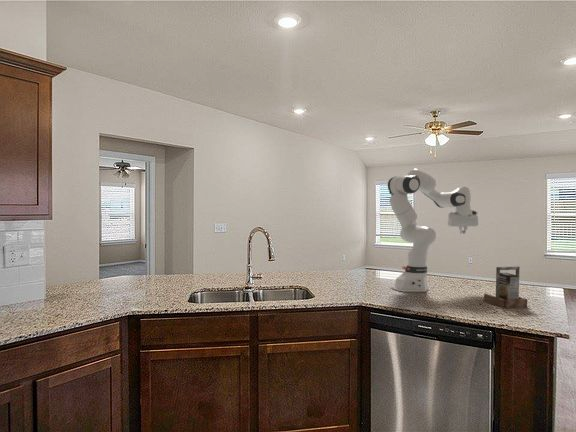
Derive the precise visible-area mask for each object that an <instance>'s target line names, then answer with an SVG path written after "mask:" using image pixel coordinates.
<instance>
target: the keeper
mask: <svg viewBox="0 0 576 432" xmlns="http://www.w3.org/2000/svg"><path fill="white" fill-rule="evenodd" d="M495 270H496V271H495V273H496V274H495V296H494V295H491V294H488V293H483V302H485V303H487V304H491V305H494V306H497V307H500V308H503V309H514V308H515V309H516V308H517V309H519V308H528V298H524V297H521V296H519V295H518V299H513V300H504V299H501V298H499V289H500V273H501V271H515V275H518V276H519V277H520V266H496V269H495Z"/></svg>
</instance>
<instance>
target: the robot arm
mask: <svg viewBox="0 0 576 432" xmlns="http://www.w3.org/2000/svg"><path fill="white" fill-rule="evenodd" d="M436 186H437V182H436V179H435V177H433V176H432V175H430V174H429V173H427V172H425V171H424V170H421V169H417V168H413V169H410V170H409V171H408V173H407V175H397V176H393V177H390V179H388V182H387V189H388V191H389V194H390V195H391V196H390V197H389V203H390V206H391V209H392V211H393V213H394V215H395V217H396V218H397V221H398V222H399V224H400V226H401V227H400V228H401V230H400V232H399V233H400V234H399V235H400V238H401V240H403V241H405V242H407V243H411V244H413V245H412V248H411V250H409V251H408V253H407V265H406V266H405V265H402V266H401V269H402V270H404V272H403V273H401V274H400V275H399V276H397V277H396V278H395V282H394V285H391V287H390V288H391V289H393V290H395V291H398V292H402V293H403V292H405V293H406V292H409V293H410V292H413V293H414V292H415V293H416V292H419V293H421V292H427V291H428V290H429V285H428V278H427V276H428V275H427V274H428V267H427V258H428V257H427V256H428V251H429V249H430V247H431V245H432V244H434V243H435V241H436V238H437V234H436V231H435V229H433V228H431V227H429V226H423V225H418V223H417V219H418V214H417V212H416V211H415V209H414V207H413V205H412V203H411V202H410V200H409V197H408V195H412V194H414V193H416V192H418V190H419V191H420V192H421V193H422V194H423V195H424V196H426V197H427V198H429V199H430V200H431V201H433V202H434V204H435V205H436V206H437V207H438V208H441V209H443V208H455V212H454V211H451V212H450V213H448V219H447V226H448V227H457V228H458V229H459V233H460V234H465V235H466V232H467V229H468V227H478V226H479V216H478V211H476V210H474V209H472V208H471V191H470V188H469V187H465V186H457V188H456V189H454V190H452V191H447V192H440V191H437V190H436Z"/></svg>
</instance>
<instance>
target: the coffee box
mask: <svg viewBox="0 0 576 432" xmlns="http://www.w3.org/2000/svg"><path fill="white" fill-rule="evenodd" d="M519 294H520V275H519V276H518V275H516V274H513V273H509V272H500V289H499V298H501V299H504V300H513V299H518V295H519Z"/></svg>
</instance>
